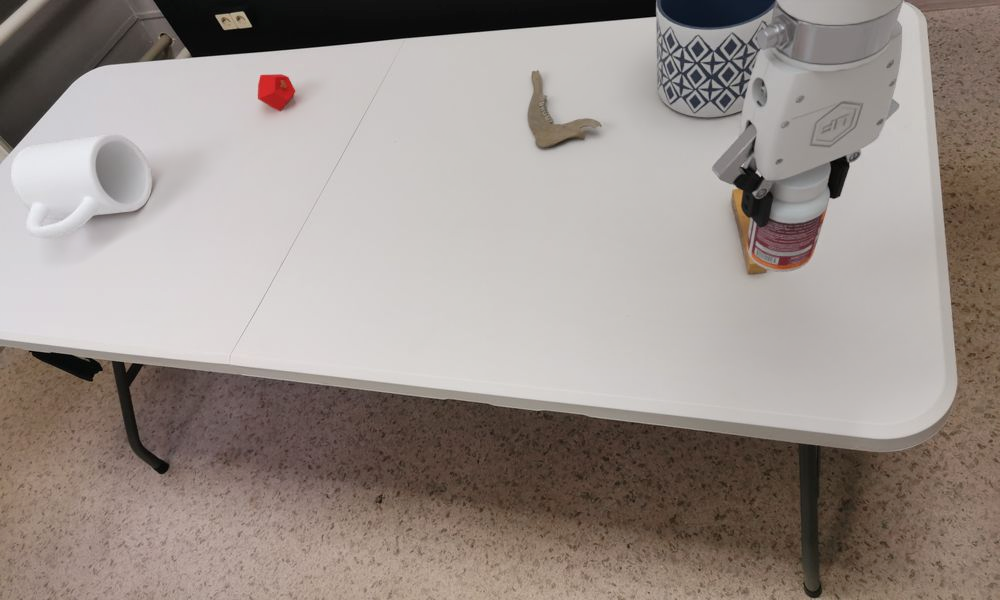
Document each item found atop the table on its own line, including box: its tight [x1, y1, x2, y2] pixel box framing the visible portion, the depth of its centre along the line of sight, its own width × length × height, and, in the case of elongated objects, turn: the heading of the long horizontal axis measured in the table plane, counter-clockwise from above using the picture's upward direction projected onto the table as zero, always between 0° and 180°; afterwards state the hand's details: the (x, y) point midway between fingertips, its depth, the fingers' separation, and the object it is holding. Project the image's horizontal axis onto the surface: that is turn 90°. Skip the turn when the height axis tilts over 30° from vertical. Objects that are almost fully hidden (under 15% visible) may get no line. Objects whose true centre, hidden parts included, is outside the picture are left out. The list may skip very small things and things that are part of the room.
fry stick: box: [730, 188, 768, 275], centre depth 75 cm, size 12×2×2 cm, turn 178°
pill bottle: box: [747, 162, 831, 273], centre depth 57 cm, size 6×6×11 cm
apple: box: [257, 73, 296, 112], centre depth 113 cm, size 7×7×8 cm
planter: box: [655, 0, 775, 118], centre depth 87 cm, size 16×16×14 cm
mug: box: [10, 133, 153, 240], centre depth 103 cm, size 19×16×13 cm
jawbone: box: [527, 69, 603, 148], centre depth 96 cm, size 9×20×2 cm, turn 28°
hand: (790, 201), depth 55 cm, fingers closed on pill bottle, 6 cm apart
